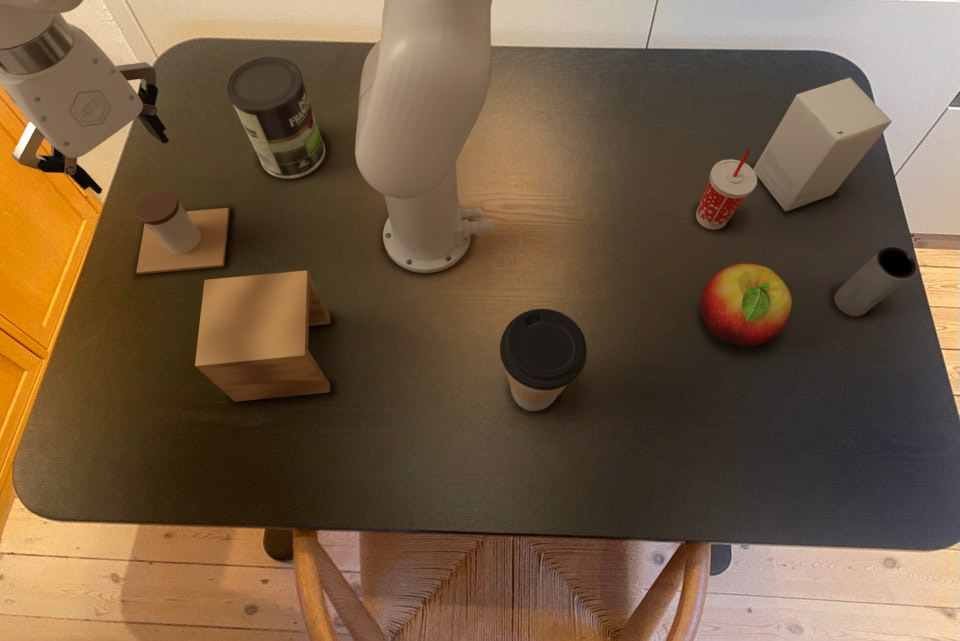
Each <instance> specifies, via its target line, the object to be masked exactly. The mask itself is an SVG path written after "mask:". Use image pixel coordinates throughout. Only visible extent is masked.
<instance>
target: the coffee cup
mask: <svg viewBox="0 0 960 641" xmlns="http://www.w3.org/2000/svg"><path fill="white" fill-rule="evenodd" d="M499 355H500V356H499V357H500V359H501V362H502V365H503V367H504V368H505V370H506V377H507V382H508V384H509V386H510V393H511V396H512V398H513V400H514V401H515V403H516V404H517V405H518V406H519V407H521V408H522V409H524V410H525V411H529V412H538V411H542V410H545V409H547V408H548V407H549V406H551V405H552V404H553V403H554V402H555V400H556V399H557V398H558V396H560V394H562V392H563V391H564V390H565V388H566V387H567V386H568V385H569V384H571V383H572V382H574V380H576V379H577V378H578V377H579V376H580V374H581V373H582V372H583V369H584V368H585V365H586V362H587V356H588V348H587V342H586V338H585V335H584V333H583V331H582V329H581V328H580V326H579V325H578V324H577V323H576V321H574V319H572V318H571V317H570V316H568V315H566V314H564V313H562V312H560V311H557V310H554V309H549V308H533V309H530V310H527V311H524V312H522V313H520V314H518V315H517V316H515V317H513V319H512V320H511V321H510V322H509V323H508V324H507V326H506V327H505V329H504V330H503V333H502V335H501V338H500V342H499Z"/></svg>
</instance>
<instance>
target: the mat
mask: <svg viewBox="0 0 960 641" xmlns="http://www.w3.org/2000/svg"><path fill="white" fill-rule="evenodd" d="M185 211H186V212H187V214H188V215H189V216H190V218H191V219H192V221H193V222H194V223H195V225H196V226H197V227H198V229H199V230H200V233H201V239H200V242H199V244H198V245H197V246H196V247H195V248H194V249H193V250H191V251H190V252H187V253H184V254H174V253H171V252H169V251H168V250H167V249H166V248H165V247H164V246H163V244H162V243H161V242H160V241H159V240H158V239H157V237H156V236H155V235H154V234H153V233H152V231H151V230H150V229H149V228H148V227H147V226H146V224H145V223H144V225H143V231H142V237H141V244H140V250H139V254H138V261H137V266H136V271H135V272H136V274H137V275H150V274H160V273H172V272H183V271H192V270H204V269H214V268H224V267H225V263H226V261H225V260H226V252H227V242H228V234H229V233H228V232H229V224H230V223H229V222H230V220H229V219H230V212H231V210H230V208H229V207H223V208H221V207H220V208H208V209H198V210H197V209H196V210H185Z"/></svg>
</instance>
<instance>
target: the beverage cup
mask: <svg viewBox="0 0 960 641" xmlns="http://www.w3.org/2000/svg"><path fill="white" fill-rule="evenodd" d="M750 153H751V149H750V148H747V149H746V151H745V153H744V154H743V156H742V158H741V160H738V159H732V158H729V159H722V160H720V161H718V162H716V163H715V164H714V165H713V167H712V169H710V173H709V180H708V182H707V185H706V186H705V189H704V192H703V194H702V197H701V198H700V201H699V204H698V206H697V209H696V212H695V217H696V221H697V222H698V224H700V225H701V227H703V228H706V229H708V230H714V231H715V230H720V229H722V228H724V227H725V226H726V225H727V223H728V222H729V221H730V220H731V218H732V216H733V215H734V214H735V212H736V211H737V210H738V208H739V207H740V206H741V204H743V202H744V200H745V199H746V197H747V196H749V195H751V193H752V192H753V191H754V190H755V188H756V187H757V184H758V176H757V175H756V174H755V172H754V170H753V169H754V168H753V167H751V166H750V165H749V164H748V163H746V160H747V159H748V157H749V155H750Z"/></svg>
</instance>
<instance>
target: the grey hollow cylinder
mask: <svg viewBox="0 0 960 641" xmlns="http://www.w3.org/2000/svg"><path fill="white" fill-rule="evenodd" d="M916 269H917V265H916V261H915V260H914V258H913V257H912V255H911V254H909V252H907V251H906V250H904V249H902V248H899V247H897V246H896V247H894V246H887V247H883V248H882V249H880V250H879V251H878V252H877V253H875V255H874V256H872V258H870V260H868V261H867V262H866V263H865V264H864V265H863V266H861V267H860V269H859V270H858V271H857V272H855V273H854V274H853V275H852V276H851V277H850V278H849V279H847V281H846V282H844V283H843V284H842V285H841V286H840V287H839V288H838V289H837V291H835V293H834V296H833V299H834V304H835V306H836V307H837V309H838V310H840V311H841V312H842V313H843V314H845V315H848V316H850V317H861V316H863V315H865V314H866V313H867V312H869V311H870V310H871V309H873V308H874V307H875V306H876V305H877V304H879V303H880V302H881V301H882V300H884V299H886V297H888V296H889V295H890V294H892V293H893V292H894V291H895V290H896V289H898V288H899V287H900V286H901V285H903V283H905V282H906V281H907V280H909V279H910V278H911V277H912V276H913V275H914V274H915V272H916Z"/></svg>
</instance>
